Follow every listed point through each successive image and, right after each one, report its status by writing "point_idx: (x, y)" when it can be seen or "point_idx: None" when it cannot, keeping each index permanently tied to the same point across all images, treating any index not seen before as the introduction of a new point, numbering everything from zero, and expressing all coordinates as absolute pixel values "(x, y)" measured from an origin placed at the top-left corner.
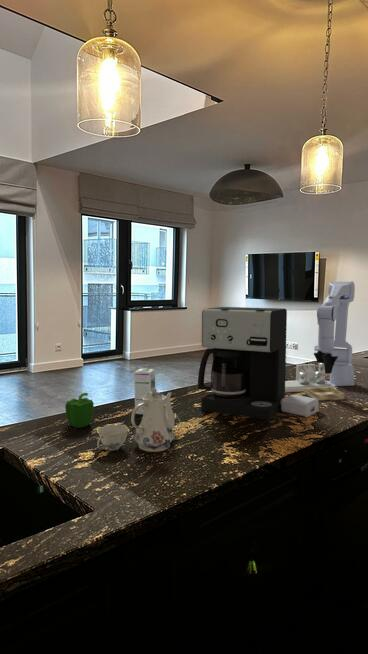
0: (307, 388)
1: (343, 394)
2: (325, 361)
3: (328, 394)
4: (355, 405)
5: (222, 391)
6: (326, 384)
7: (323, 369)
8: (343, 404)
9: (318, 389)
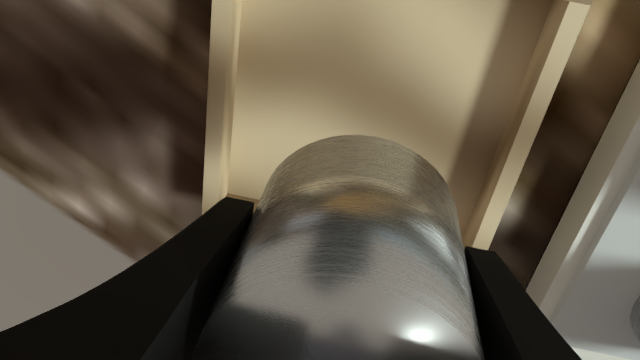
0: (572, 15)
1: (204, 204)
2: (16, 330)
3: (218, 61)
4: (20, 135)
5: None
6: (590, 317)
7: (260, 221)
8: (56, 65)
9: (505, 144)
